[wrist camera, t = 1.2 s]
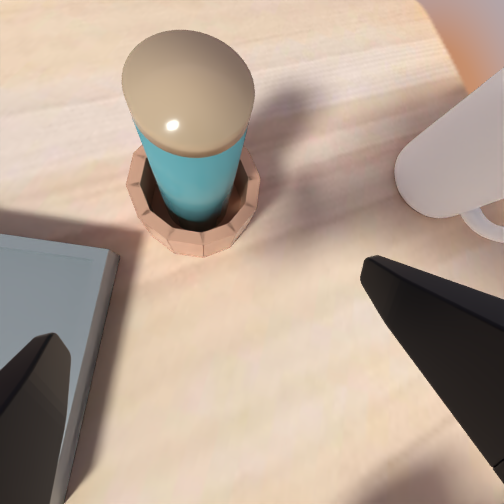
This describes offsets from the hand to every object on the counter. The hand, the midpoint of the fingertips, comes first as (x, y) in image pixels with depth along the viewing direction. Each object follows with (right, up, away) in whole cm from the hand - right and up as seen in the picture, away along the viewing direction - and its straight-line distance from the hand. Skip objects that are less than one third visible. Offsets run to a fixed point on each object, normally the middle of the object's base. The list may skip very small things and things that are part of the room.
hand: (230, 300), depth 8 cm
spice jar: (-4, +5, +14) cm, 15 cm away
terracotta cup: (-4, +5, +14) cm, 16 cm away
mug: (+19, +7, +19) cm, 27 cm away
